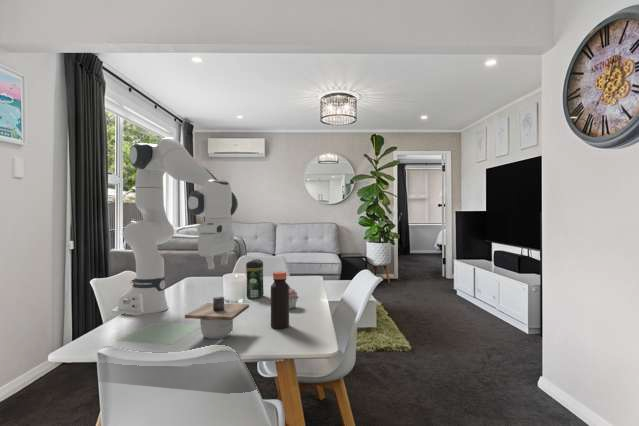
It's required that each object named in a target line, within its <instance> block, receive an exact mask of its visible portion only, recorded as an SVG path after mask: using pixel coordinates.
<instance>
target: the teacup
mask: <svg viewBox="0 0 639 426" xmlns="http://www.w3.org/2000/svg"><path fill="white" fill-rule="evenodd" d="M199 320H200V321H199V322H200V324H199V325H201V327H200V331H201V334H202V336H203V337H204V338H206V339H208V340H209V339H210V340H220V339H221V340H222V339H225V338H227V337H228V336H229V335H230V334H231V332H232V331H233V326H234V319H233V320H215V319H199Z"/></svg>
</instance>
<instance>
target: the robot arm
mask: <svg viewBox="0 0 639 426" xmlns="http://www.w3.org/2000/svg"><path fill="white" fill-rule="evenodd" d="M128 155H129V156H128V158H129V163H130V164H131V166H132V167H133V168H135V169H136V175H135V184H134V185H135V186H134V187H135V189H134V190H135V207H136V209H138V210H139V211H140V214H141V216H142V220H136V221H133V222H130V223H128V224H127V225H126V226H125V227H124V228H123V231H122V236H123V240H124V242H125V243H126V244H127V245H128V246H129V247H130V248H131V250H132V252H133V256H134V260H135V276H136V277H135V278H133V279H131V280H130V284H132V285H131V287H130V288H129V289H128V290H126V291H125V292H124V293H123V294H121V295H120V297H119V298H118V302H117V306H115V307H114V308H112V310H111V313H113V314H121V315H126V316H127V315H128V316H134V317H137V316H139V315H141V316H142V315H144V314H145V315H146V314H154V313H161V312H164V311H167V310H168V309H169V305H168V302H167V296H166V290H165V289H166V276H165V259H164V257H163V256H162V255H161V254H160V253H159V250H158V249H159V248H158V245H161V244H164V243H167V242H169V241H170V240H172V238H173V237H174V234H175V229H174V226H173V224H172V223H171V222H170V221H169V219H168V216H167V214H166V213H167V212H166V209H165V201H164V200H165V199H164V174H166V173H167V174H168V175H169V176H171V178H173V179H175V180H177V181H182V182H186V183H190V184H191V183H192V184H195V185H197V186H200V188H199V189H196V190H192V192H191V193H189V195H188V197H187V201H186V205H187V210H188V211H189V212H190V214H191V215H192V216H195V217H204V222H202V223H200V225H198V226H197V233H198V241H197V247H198V248H197V251H198V256H199V257H201V258H203V257H205V260H206V263H207V269H208V270H214V269H215V267H216V263H214V262H215V261H214V258H215V256H218V255H221V256H222V257H221V260H220V265H221V266H226V265H227V264H228V258H229V255H230V252H233V251H234V250H235V245H236V243H235V242H236V241H235V234H234V231H233V230H232V224H233V223H232V219H233V218H232V216H233V215H234V214H235V212H236V211H237V210H238V204H239V203H238V199H237V197H236V195H235V193H234V192H232V187H231V185H230V183H229V181H227V180H220V179H218V178H217V177H216V176H215V175H214V174H213V173H212V172H211V171H210V170H208V168H206V167H205V166H204V165H202V164H201V163H199V162H198V161H197V160H196V159H195V158H194V157H193V156H192V155H191V154H190V152H189V151H188V150H187V149H186V147H185V146H184V145H183V144H182V143H181V142H180V141H178V140H177V139H176V138H174V137H169V136H168V137H163V138H161V139H160V140H159V141H158V143H157V144H156V143H155V144H154V143H146V142H145V143H144V142H139V143H135V144H133V145H132V146H131V147H130V150H129V153H128ZM124 313H125V314H124Z"/></svg>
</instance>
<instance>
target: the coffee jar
mask: <svg viewBox="0 0 639 426" xmlns="http://www.w3.org/2000/svg"><path fill="white" fill-rule="evenodd" d="M245 264H246V265H245V272H246V298H247V299H252V300H253V299H260V298H262V297H263V296H264V261H263V260H262V259H251V260H249V261H248V262H246V263H245Z"/></svg>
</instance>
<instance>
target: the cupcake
mask: <svg viewBox="0 0 639 426" xmlns="http://www.w3.org/2000/svg"><path fill="white" fill-rule="evenodd" d="M298 300H299V296H298V293H297V291H295V289H294V288H292V287H291V286H290V285H289V310H294V309H295V308H296V305H297V302H298Z"/></svg>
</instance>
